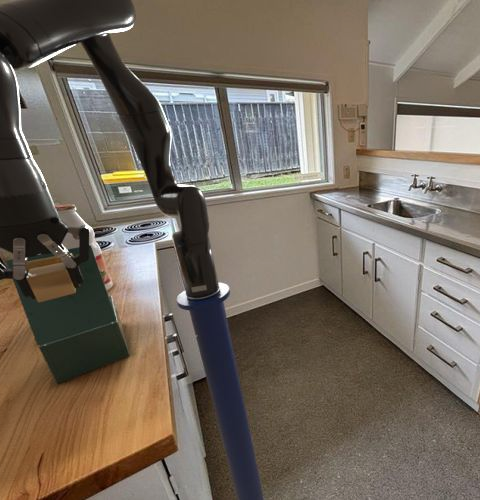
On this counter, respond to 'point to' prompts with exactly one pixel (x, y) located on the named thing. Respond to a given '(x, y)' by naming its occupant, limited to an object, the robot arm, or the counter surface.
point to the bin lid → (67, 302)
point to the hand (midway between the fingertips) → (57, 291)
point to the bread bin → (86, 350)
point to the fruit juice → (73, 219)
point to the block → (50, 282)
